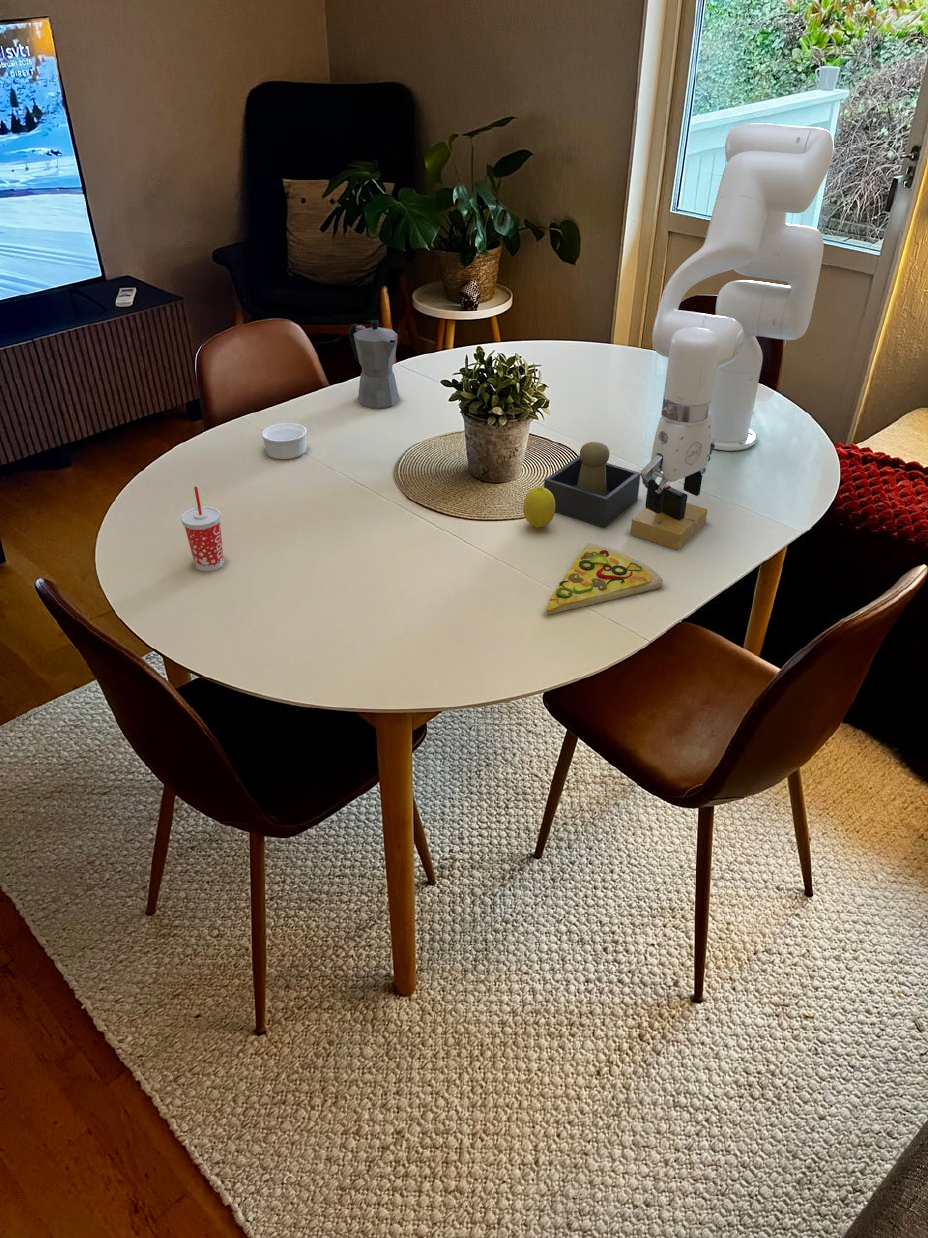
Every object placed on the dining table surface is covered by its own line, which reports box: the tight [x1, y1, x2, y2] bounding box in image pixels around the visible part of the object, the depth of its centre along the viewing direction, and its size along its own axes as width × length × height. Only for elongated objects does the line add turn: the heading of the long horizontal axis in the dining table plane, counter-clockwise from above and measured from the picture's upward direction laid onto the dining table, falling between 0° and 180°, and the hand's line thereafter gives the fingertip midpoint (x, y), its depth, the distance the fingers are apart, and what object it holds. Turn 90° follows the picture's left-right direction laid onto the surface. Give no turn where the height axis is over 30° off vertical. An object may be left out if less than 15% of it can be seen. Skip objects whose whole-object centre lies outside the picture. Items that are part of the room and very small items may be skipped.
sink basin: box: [543, 454, 641, 529], centre depth 172 cm, size 13×13×6 cm
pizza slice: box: [546, 542, 663, 616], centre depth 149 cm, size 16×21×3 cm
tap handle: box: [662, 483, 689, 520], centre depth 163 cm, size 5×2×5 cm, turn 39°
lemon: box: [522, 485, 556, 529], centre depth 164 cm, size 6×6×8 cm
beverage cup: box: [180, 486, 225, 572], centre depth 152 cm, size 6×6×14 cm
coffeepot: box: [348, 319, 401, 410], centre depth 207 cm, size 15×9×18 cm, turn 44°
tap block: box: [629, 502, 709, 551], centre depth 165 cm, size 11×9×3 cm
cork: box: [577, 441, 610, 497], centre depth 170 cm, size 6×6×11 cm
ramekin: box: [261, 422, 308, 460], centre depth 189 cm, size 9×9×4 cm
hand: (672, 501), depth 163 cm, fingers open, 9 cm apart
